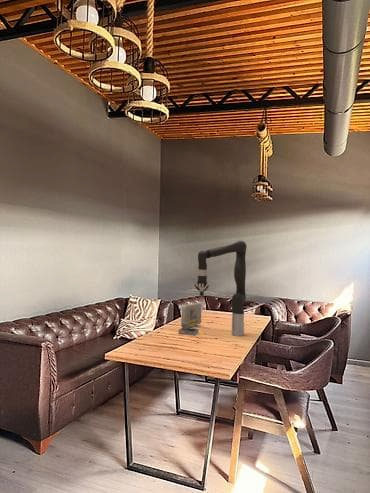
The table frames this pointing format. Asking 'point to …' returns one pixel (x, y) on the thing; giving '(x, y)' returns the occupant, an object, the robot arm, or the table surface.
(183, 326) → the rectangular block
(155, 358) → the table surface
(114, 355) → the table surface
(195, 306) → the network device
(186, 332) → the rack
